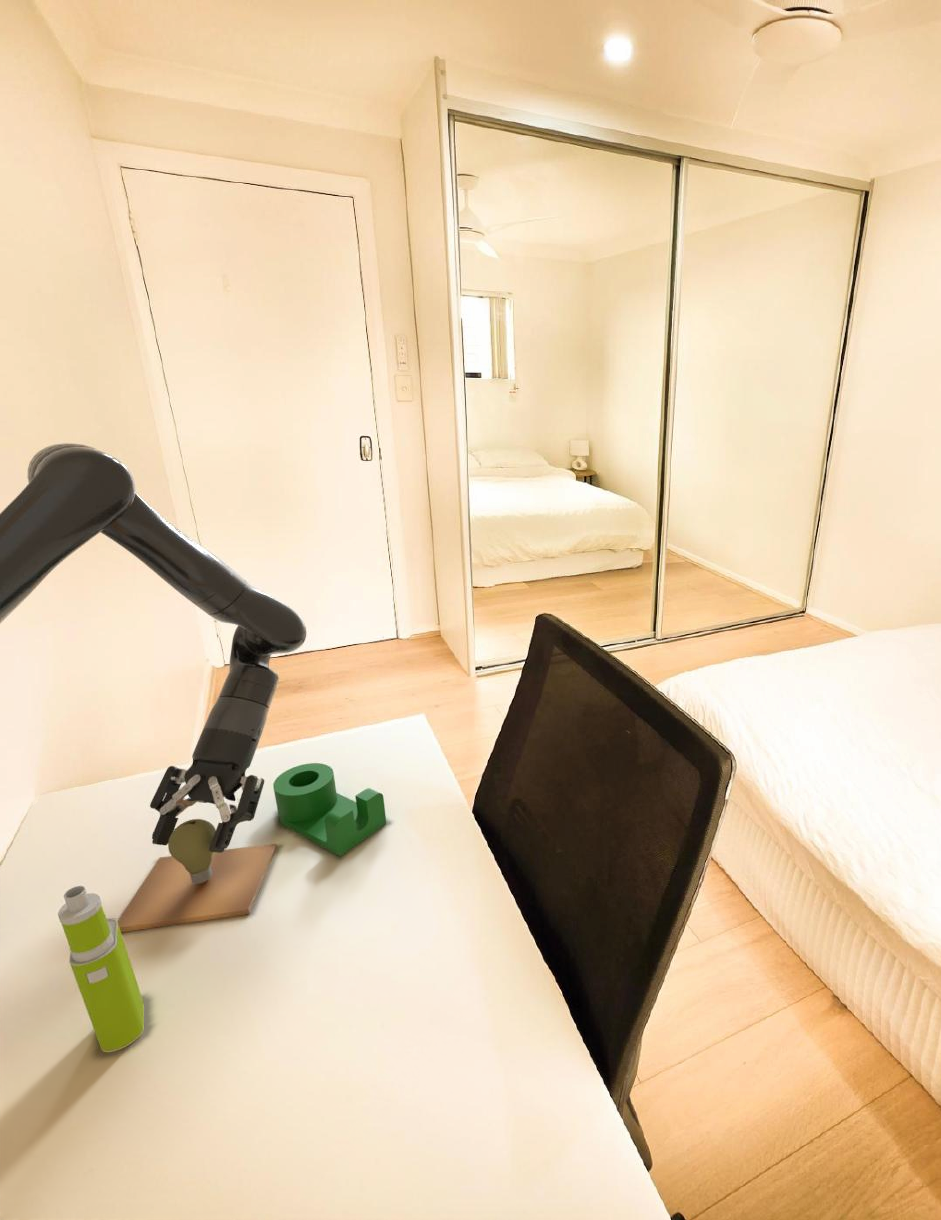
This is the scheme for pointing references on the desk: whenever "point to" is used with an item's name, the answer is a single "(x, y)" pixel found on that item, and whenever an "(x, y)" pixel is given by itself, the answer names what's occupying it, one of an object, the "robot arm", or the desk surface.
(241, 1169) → the desk surface
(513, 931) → the desk surface
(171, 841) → the light bulb
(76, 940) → the vape
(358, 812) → the slotted cylinder bracket
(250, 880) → the brown wooden board
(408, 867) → the desk surface
